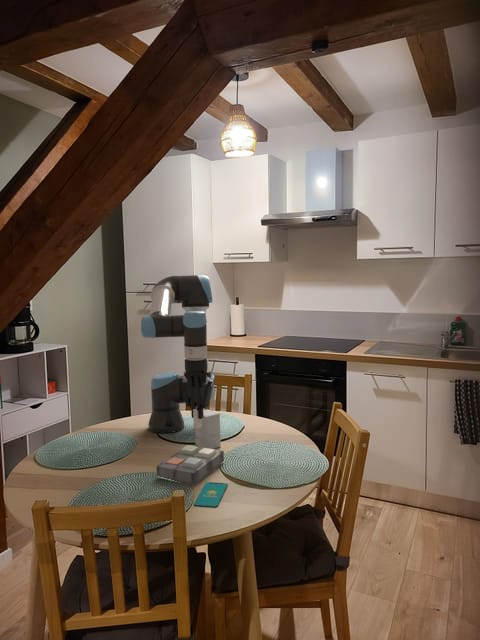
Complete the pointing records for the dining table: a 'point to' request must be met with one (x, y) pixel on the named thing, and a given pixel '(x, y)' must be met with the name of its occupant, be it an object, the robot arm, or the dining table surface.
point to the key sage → (190, 450)
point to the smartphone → (211, 494)
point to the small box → (209, 430)
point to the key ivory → (206, 453)
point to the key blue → (192, 463)
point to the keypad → (189, 474)
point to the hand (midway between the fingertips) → (197, 427)
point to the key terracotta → (175, 461)
